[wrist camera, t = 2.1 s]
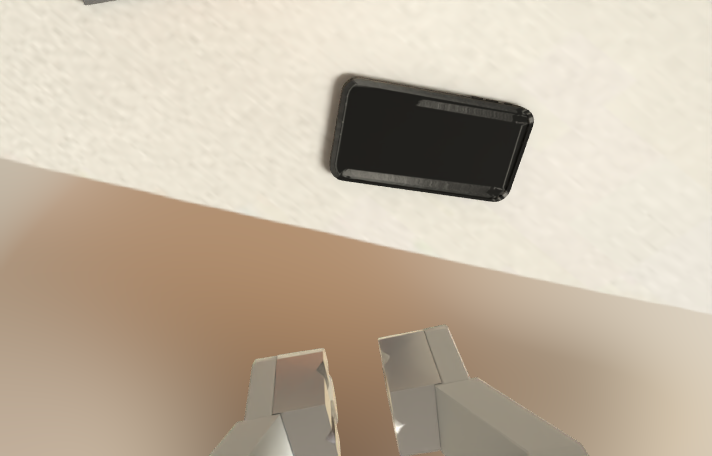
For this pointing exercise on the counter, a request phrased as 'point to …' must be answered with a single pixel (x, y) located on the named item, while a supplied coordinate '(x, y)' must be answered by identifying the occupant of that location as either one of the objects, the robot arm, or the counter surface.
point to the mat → (94, 1)
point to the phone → (428, 140)
